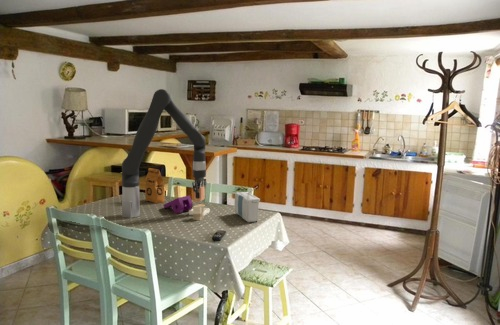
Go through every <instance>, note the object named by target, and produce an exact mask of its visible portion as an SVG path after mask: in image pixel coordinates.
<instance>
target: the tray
mask: <svg viewBox="0 0 500 325" xmlns="http://www.w3.org/2000/svg"><path fill="white" fill-rule="evenodd" d="M210 210H211V209H210V208H209V207H204V217H205V216H206V215H208V214H210ZM188 215H189V216H193V208H192V209H191V210H189V211H188Z"/></svg>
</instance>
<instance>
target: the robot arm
mask: <svg viewBox="0 0 500 325" xmlns="http://www.w3.org/2000/svg"><path fill="white" fill-rule="evenodd" d="M164 111H165V112H166V113H167V114H168V115H169V116H170V118H171V119H172V120H173V121H174V123H175V124H176V125H177V126H178V128H180V130H181V131H182V132H183V133H184V134H185V135H186V136H187V138H188V139H189V140H190V141H191V142H192V144H193V154H192V156H193V158H192V177H193V178H194V181H193V182H192V183H191V184H192V191H193V192H196V199H199V191H200V188H201V186H203V187H204V186H205V188H206V187H207V186H206V184H207V178H205V177H206V176H207V163H206V145H207V144H206V141H207V140H206V137H205V135H203V134H202V133H201V132H200V131H199V130H198V129H197V128H196V126H195V125H194V124H193V122H192V121H191V120H190V119H189V118H188V117H187V116H186V115H185V113H183V111H181V110H180V108H178V106H177V105H176V103H175V102H174V101H173V99H172V97H171V95H170V93H169V92H168V90H166V89H163V88H160V89H158V90H155V92H154V93H153V96H152V99H151V102H150V104H149V108H148V110H147V112H146V113H145V115H144V117H143V118H142V120H141V123H140V124H139V125H138V129H137V131H136V133H135V136H134V139H133V143H132V146H131V149H130V151H128V152H129V153H128V154H127V156H126V158H125V159H123V161H122V163H121V184H122V186H121V188H122V200H121V217H122V218H129V219H133V218H137V217H139V216H140V215H141V212H140V211H141V209H140V208H141V207H140V206H141V205H140V203H141V202H140V201H141V200H140V198H141V197H140V166H141V163H142V159H143V157H144V154H145V153H146V151H147V149H148V148H149V146H150V144H151V143H152V141H153V139H154V136H155V134H156V132H157V129H158V127H159V123H160V119H161V116H162V114H163V112H164ZM197 186H199V187H197Z"/></svg>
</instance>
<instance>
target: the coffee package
mask: <svg viewBox="0 0 500 325" xmlns="http://www.w3.org/2000/svg"><path fill="white" fill-rule="evenodd" d="M147 170H148V172H147V174H146V177H145V180H144V184H145V185H144V188H145V191H144V193H145V194H144V195H145V201H148V202H150V203H153V204H162V203H164V202H165V185H164V183H165V182H164V179H163V176H162V174H161V172H160V169H157V168H151V167H149V168H148V169H147Z"/></svg>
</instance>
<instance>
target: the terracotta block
mask: <svg viewBox="0 0 500 325" xmlns="http://www.w3.org/2000/svg"><path fill="white" fill-rule="evenodd" d="M197 187H199V186H197ZM205 189H206V187H205V186H204V187H203V186H201V188H200V191H199V199H196V192H194V191H193V192H194V194H193V196H194V201H204V200H205V199H206V198H205V196H206V195H205V193H206V192H205V191H206V190H205Z"/></svg>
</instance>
